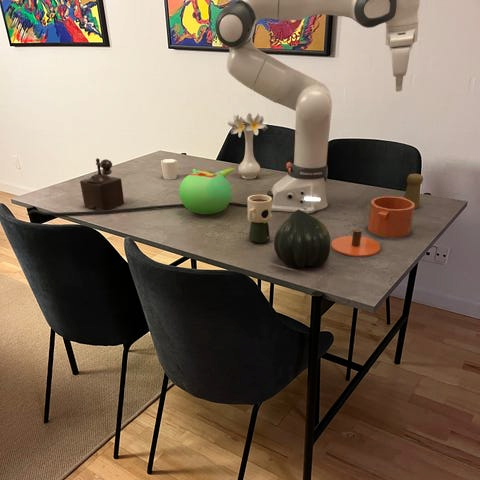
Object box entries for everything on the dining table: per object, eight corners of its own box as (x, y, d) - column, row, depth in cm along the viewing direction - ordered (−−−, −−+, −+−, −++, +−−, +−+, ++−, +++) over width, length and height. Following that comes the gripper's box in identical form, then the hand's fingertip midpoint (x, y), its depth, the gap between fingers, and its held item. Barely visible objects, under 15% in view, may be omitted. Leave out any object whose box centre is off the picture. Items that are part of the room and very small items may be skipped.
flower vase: (241, 170, 212) (241, 108, 198) (274, 177, 201) (275, 113, 188) (220, 176, 204) (218, 112, 190) (253, 184, 193) (253, 118, 179)
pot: (358, 236, 147) (361, 207, 143) (379, 218, 160) (383, 191, 155) (398, 245, 141) (403, 215, 136) (417, 226, 154) (422, 198, 149)
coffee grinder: (82, 207, 173) (72, 156, 163) (104, 198, 180) (96, 149, 171) (113, 215, 165) (105, 161, 156) (135, 206, 173) (129, 154, 164)
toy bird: (172, 217, 163) (168, 173, 155) (193, 201, 176) (191, 160, 169) (222, 223, 158) (220, 178, 150) (239, 206, 171) (239, 164, 163)
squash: (329, 261, 120) (332, 204, 122) (269, 260, 123) (273, 204, 125) (328, 276, 134) (331, 224, 136) (275, 274, 136) (278, 224, 139)
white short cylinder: (177, 179, 200) (176, 162, 196) (160, 180, 200) (159, 162, 196) (179, 175, 206) (178, 158, 202) (163, 175, 206) (161, 158, 202)
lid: (323, 251, 138) (324, 233, 135) (342, 236, 148) (344, 218, 145) (369, 263, 132) (371, 243, 128) (386, 245, 141) (389, 227, 138)
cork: (420, 209, 167) (426, 177, 161) (401, 208, 168) (407, 176, 162) (418, 203, 172) (424, 172, 166) (400, 202, 173) (405, 171, 167)
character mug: (260, 249, 140) (260, 205, 133) (239, 244, 144) (239, 201, 137) (278, 236, 148) (279, 195, 141) (258, 232, 151) (258, 191, 144)
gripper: (390, 34, 150) (388, 83, 157) (389, 41, 134) (387, 95, 141) (412, 32, 148) (409, 81, 155) (413, 38, 132) (410, 93, 139)
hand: (398, 88), depth 148 cm, fingers open, 8 cm apart
